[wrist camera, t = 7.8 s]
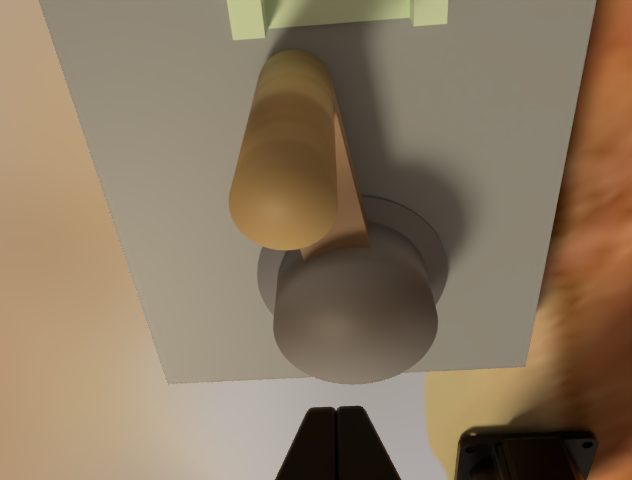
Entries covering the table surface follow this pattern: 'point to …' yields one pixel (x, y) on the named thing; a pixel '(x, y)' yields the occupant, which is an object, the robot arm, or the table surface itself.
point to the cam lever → (326, 235)
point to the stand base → (364, 144)
